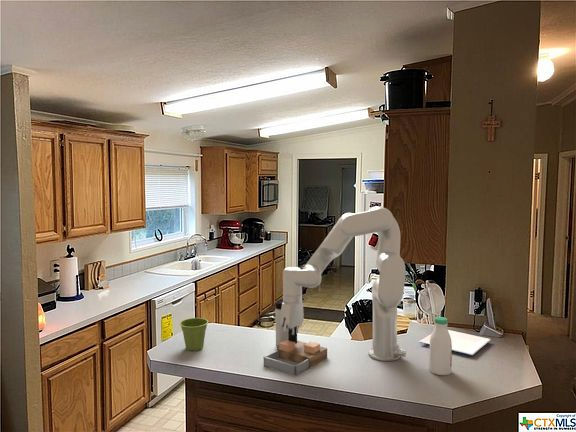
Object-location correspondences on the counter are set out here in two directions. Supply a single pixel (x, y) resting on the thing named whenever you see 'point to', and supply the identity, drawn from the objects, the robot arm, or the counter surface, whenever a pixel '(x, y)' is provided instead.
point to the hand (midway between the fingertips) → (292, 343)
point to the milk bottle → (440, 348)
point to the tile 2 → (312, 347)
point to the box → (285, 364)
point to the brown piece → (303, 354)
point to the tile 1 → (287, 345)
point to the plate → (463, 342)
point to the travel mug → (280, 333)
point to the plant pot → (194, 332)
